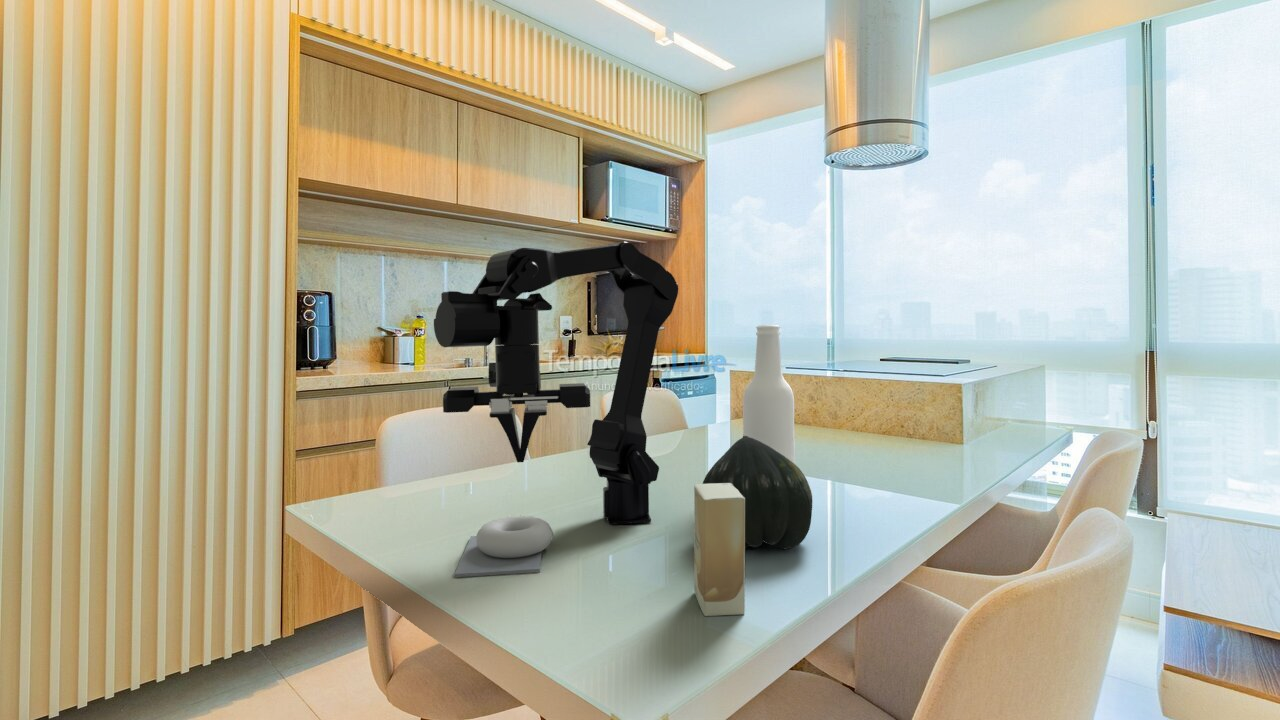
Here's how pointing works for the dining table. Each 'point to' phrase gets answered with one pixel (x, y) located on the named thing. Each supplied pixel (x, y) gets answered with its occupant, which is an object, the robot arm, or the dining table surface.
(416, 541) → the dining table surface
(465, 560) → the mat
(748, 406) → the alcohol
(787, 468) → the squash
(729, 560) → the skincare box
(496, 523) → the donut
